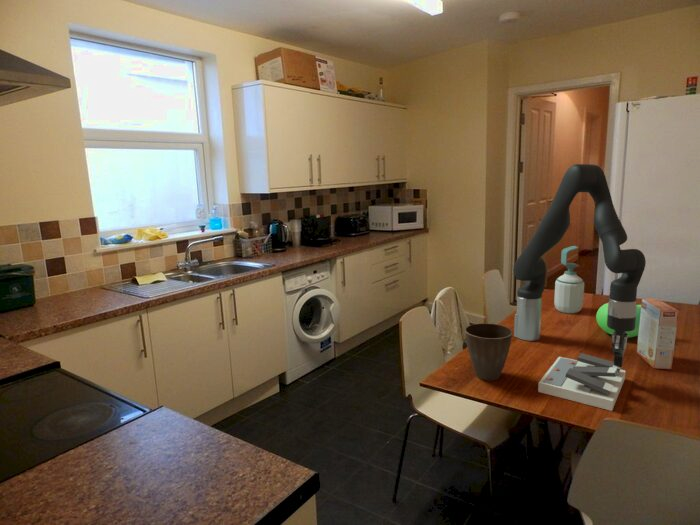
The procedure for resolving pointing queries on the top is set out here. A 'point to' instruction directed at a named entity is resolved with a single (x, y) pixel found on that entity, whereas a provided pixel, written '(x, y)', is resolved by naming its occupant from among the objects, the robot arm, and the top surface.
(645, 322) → the cracker box
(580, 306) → the soap bottle
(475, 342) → the plant pot
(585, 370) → the rocker
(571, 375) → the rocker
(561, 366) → the switch unit
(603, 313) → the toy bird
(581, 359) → the block
